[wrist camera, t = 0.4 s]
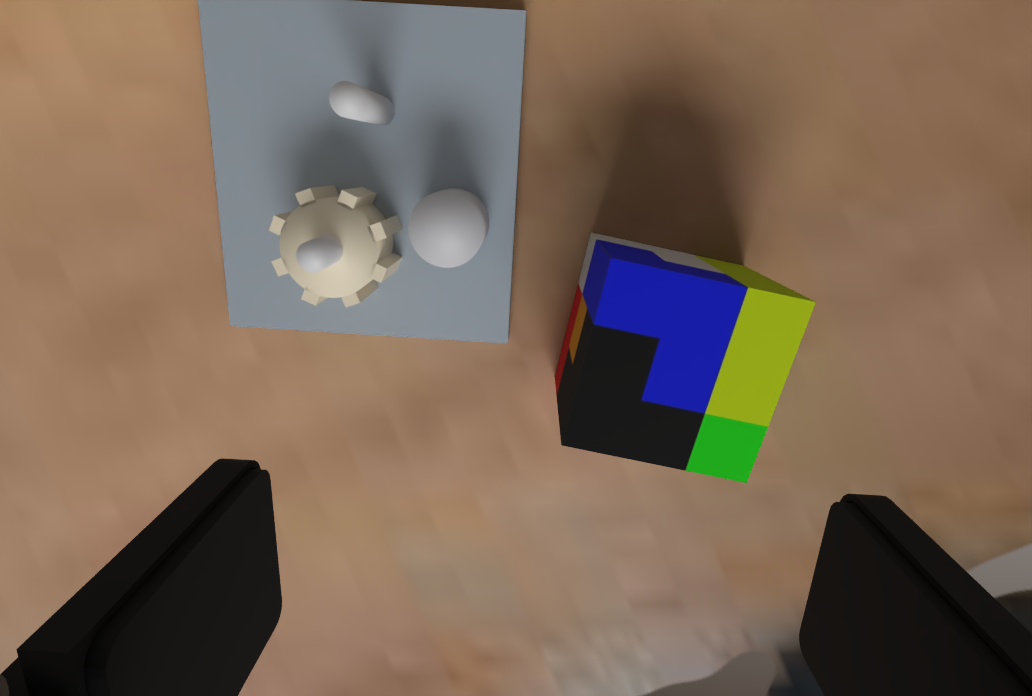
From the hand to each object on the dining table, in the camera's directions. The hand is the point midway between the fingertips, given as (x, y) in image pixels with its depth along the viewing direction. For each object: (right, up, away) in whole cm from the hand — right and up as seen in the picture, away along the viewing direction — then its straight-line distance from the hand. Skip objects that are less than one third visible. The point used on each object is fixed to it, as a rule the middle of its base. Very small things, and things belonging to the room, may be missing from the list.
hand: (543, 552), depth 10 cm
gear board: (-9, +14, +26) cm, 31 cm away
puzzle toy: (+8, +5, +29) cm, 30 cm away
